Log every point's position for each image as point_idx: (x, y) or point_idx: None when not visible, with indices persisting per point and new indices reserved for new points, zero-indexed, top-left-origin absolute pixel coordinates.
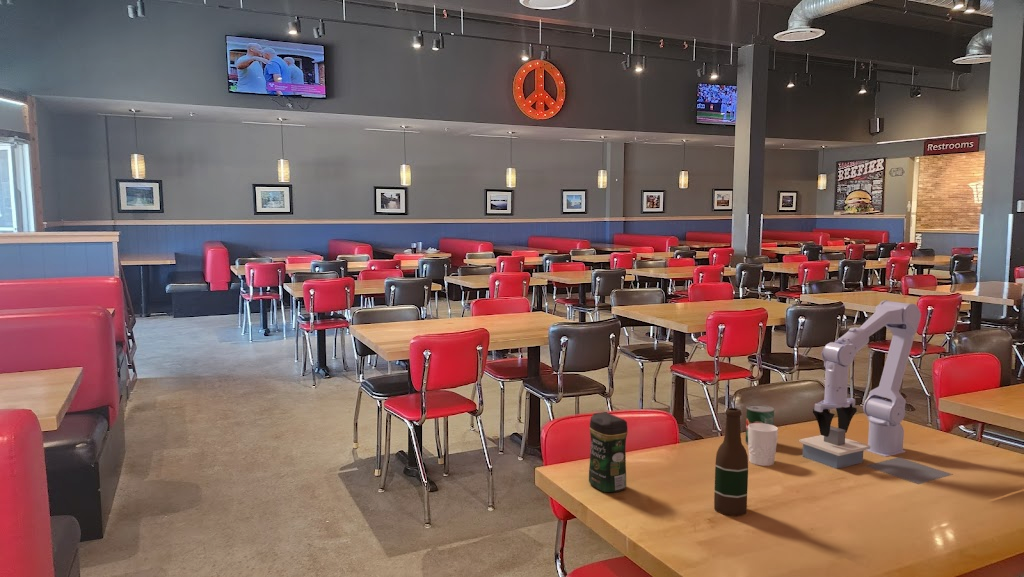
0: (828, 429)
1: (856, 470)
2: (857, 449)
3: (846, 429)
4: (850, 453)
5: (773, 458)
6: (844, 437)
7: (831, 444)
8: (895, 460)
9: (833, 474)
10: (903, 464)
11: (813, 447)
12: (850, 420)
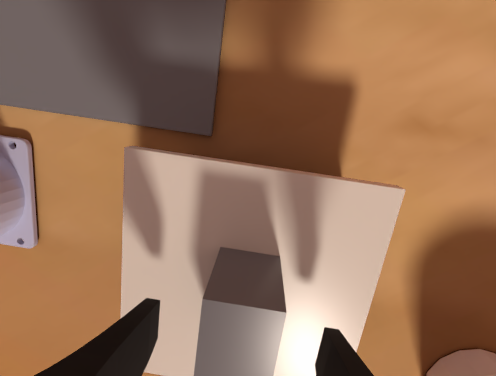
0: (363, 368)
1: (277, 136)
2: (242, 163)
3: (146, 311)
4: None
5: (488, 369)
6: (221, 268)
7: (285, 285)
8: (32, 89)
9: (401, 168)
10: (47, 38)
11: None
12: (76, 356)
